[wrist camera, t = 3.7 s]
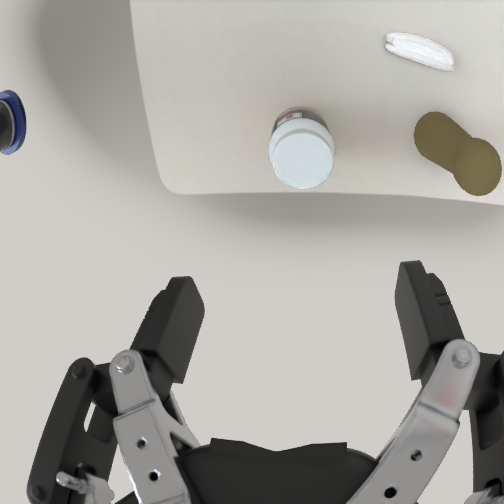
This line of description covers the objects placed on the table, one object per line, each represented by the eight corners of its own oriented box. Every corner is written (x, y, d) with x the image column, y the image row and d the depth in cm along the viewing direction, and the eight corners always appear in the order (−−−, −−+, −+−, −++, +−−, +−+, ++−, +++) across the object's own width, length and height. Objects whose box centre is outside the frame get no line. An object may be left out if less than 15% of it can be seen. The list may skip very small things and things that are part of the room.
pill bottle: (263, 121, 28) (249, 148, 20) (310, 96, 26) (317, 112, 18) (290, 164, 31) (287, 206, 23) (336, 142, 28) (351, 177, 21)
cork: (458, 114, 23) (515, 145, 14) (454, 162, 26) (503, 207, 18) (414, 109, 24) (464, 137, 16) (413, 159, 28) (455, 206, 19)
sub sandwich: (446, 74, 21) (458, 76, 18) (381, 53, 21) (389, 53, 19) (448, 49, 19) (461, 50, 16) (383, 27, 19) (391, 24, 17)
